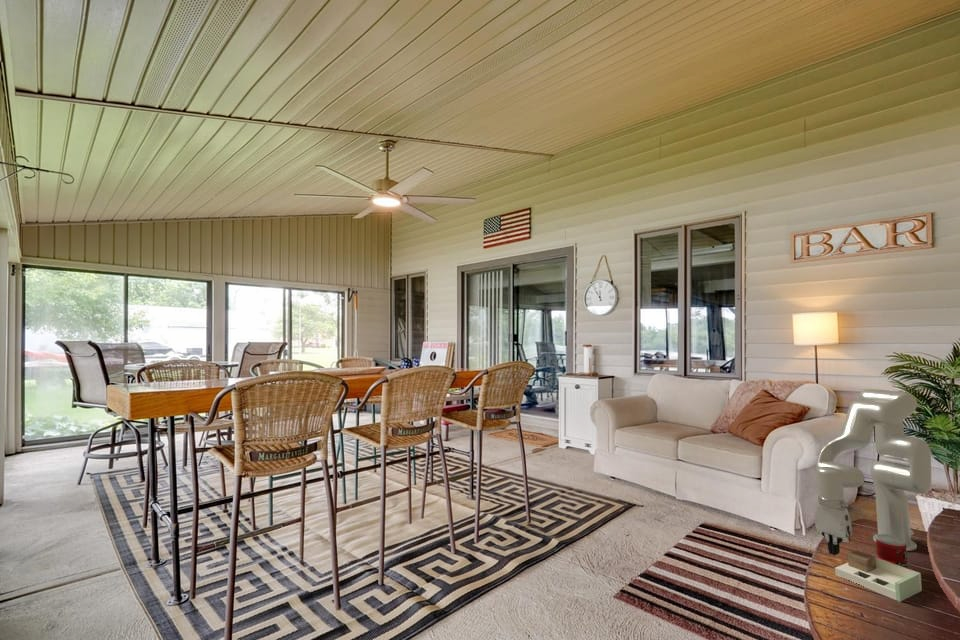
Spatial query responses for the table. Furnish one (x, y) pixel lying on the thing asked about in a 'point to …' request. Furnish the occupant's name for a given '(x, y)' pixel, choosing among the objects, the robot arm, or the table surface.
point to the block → (861, 561)
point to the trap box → (884, 579)
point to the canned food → (891, 549)
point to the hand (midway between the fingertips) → (833, 553)
